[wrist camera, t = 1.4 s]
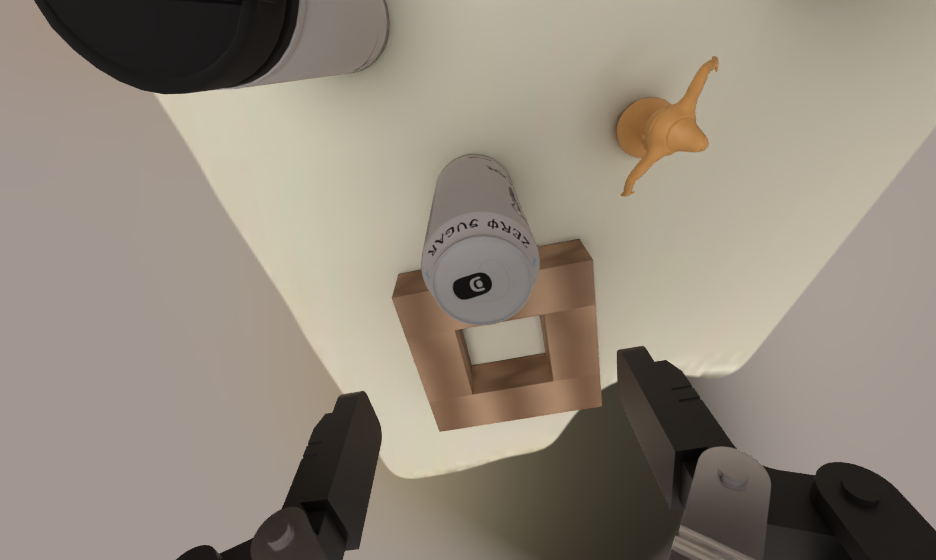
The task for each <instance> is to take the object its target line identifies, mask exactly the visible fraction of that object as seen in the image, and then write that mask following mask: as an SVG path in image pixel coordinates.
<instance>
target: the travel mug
mask: <svg viewBox="0 0 936 560" xmlns="http://www.w3.org/2000/svg"><path fill="white" fill-rule="evenodd" d="M34 1H35V3H36V4H37V6H38V7H39V9H40V10H41V12H42V13H43V15H44V16H45V18H46V19H47V21H48V22H49V24H50V25H51V27H52V28H53V29H54V30H55V31H56V32H57V33H58V34H59V35H60V36H61V37H62V38H63V39H64V40H65V41H66V42H67V43H68V44H69V46H70V47H72V49H73V50H75V51H76V52H77V53H78V54H80V55H81V56H82V57H83V58H85V59H86V60H87V61H89V62H90V63H91V64H92V65H94V66H95V67H96V68H98V69H99V70H101V71H103V72H104V73H106V74H108V75H110V76H111V77H113V78H115V79H116V80H118V81H120V82H123V83H125V84H128V85H130V86H133V87H135V88H138V89H140V90H144V91H150V92H155V93H160V94H185V93H193V92H201V91H208V90H216V89H217V90H221V89H239V88H243V87H253V86H260V85H267V84H275V83H282V82H289V81H296V80H303V79H311V78H318V77H325V76H332V75H340V74H347V73H354V72H357V71H361V70H363V69H365V68H367V67H369V66H370V65H372V64H373V63H374V62H375V61H376V60H377V59H378V57H379V56H380V55H381V53H382V51H383V49H384V47H385V45H386V42H387V37H388V33H389V17H388V10H387V6H386V3H385V0H34Z"/></svg>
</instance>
